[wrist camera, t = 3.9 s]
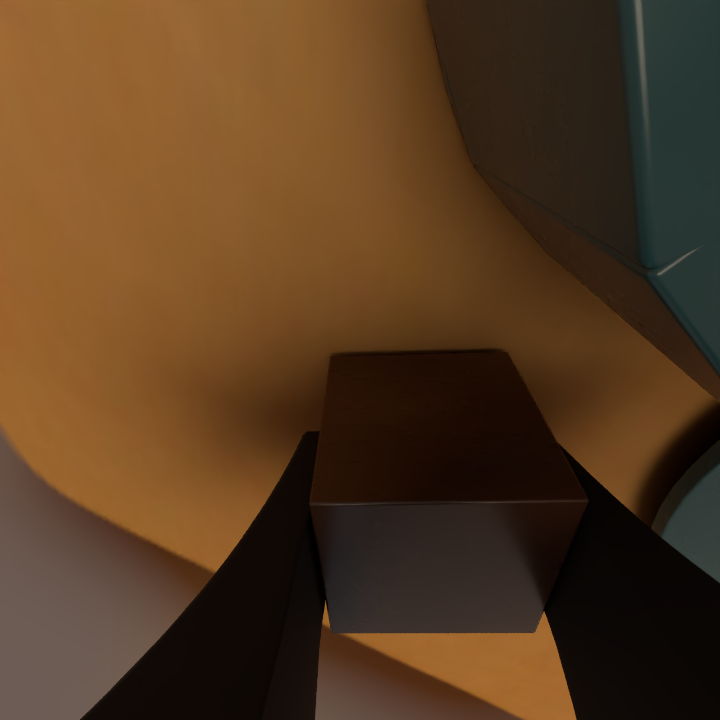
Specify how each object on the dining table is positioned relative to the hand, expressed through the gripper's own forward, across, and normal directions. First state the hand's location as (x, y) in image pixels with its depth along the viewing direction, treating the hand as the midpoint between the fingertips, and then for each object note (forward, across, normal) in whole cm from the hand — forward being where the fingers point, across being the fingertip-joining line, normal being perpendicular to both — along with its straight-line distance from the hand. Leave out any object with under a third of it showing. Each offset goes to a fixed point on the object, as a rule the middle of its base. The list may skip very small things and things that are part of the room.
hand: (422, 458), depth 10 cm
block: (+1, 0, 0) cm, 1 cm away
